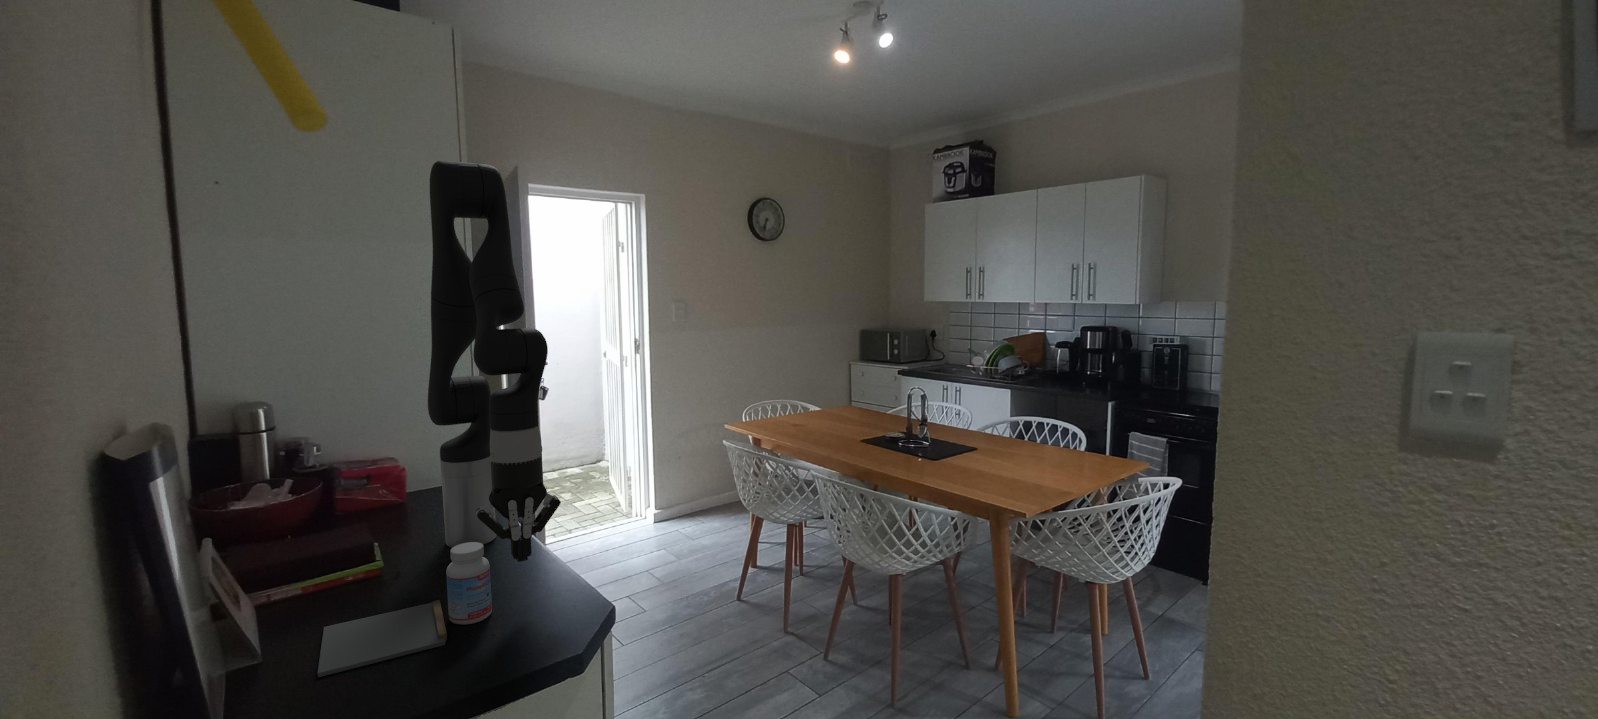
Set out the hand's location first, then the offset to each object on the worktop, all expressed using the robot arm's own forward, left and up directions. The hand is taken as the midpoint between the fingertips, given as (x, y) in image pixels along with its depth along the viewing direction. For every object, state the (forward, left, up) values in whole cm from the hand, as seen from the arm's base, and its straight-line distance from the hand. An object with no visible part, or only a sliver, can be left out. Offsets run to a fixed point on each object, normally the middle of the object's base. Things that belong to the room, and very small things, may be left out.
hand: (521, 559), depth 108 cm
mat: (0, -19, -8) cm, 21 cm away
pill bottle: (0, -8, -8) cm, 11 cm away
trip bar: (0, -12, -8) cm, 14 cm away
